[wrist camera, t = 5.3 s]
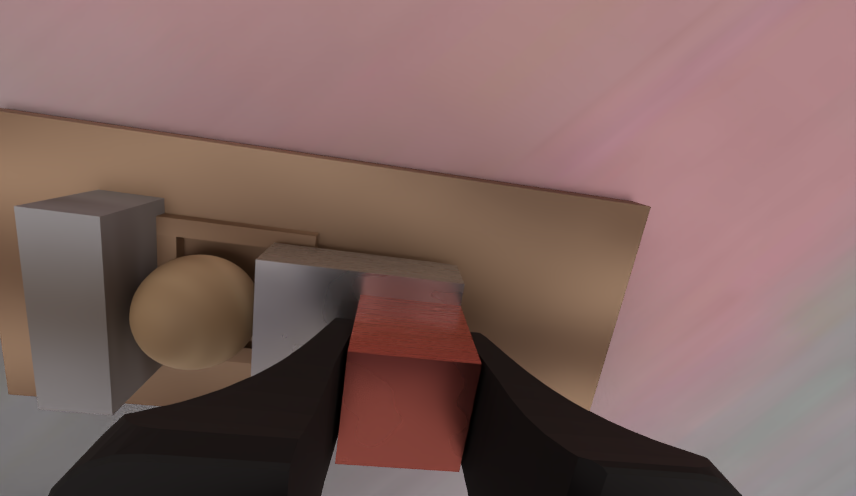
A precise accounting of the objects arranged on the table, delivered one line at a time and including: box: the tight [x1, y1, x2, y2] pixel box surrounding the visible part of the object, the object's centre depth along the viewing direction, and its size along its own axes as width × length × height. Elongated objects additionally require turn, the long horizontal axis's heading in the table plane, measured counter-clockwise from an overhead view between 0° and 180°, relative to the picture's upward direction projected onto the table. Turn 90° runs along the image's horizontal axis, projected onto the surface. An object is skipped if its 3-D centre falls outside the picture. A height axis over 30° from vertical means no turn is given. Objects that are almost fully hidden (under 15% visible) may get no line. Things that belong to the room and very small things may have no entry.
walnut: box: [129, 255, 255, 370], centre depth 13 cm, size 4×4×4 cm
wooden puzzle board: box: [0, 108, 651, 415], centre depth 14 cm, size 10×22×4 cm, turn 81°
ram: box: [251, 243, 482, 472], centre depth 12 cm, size 4×6×5 cm
